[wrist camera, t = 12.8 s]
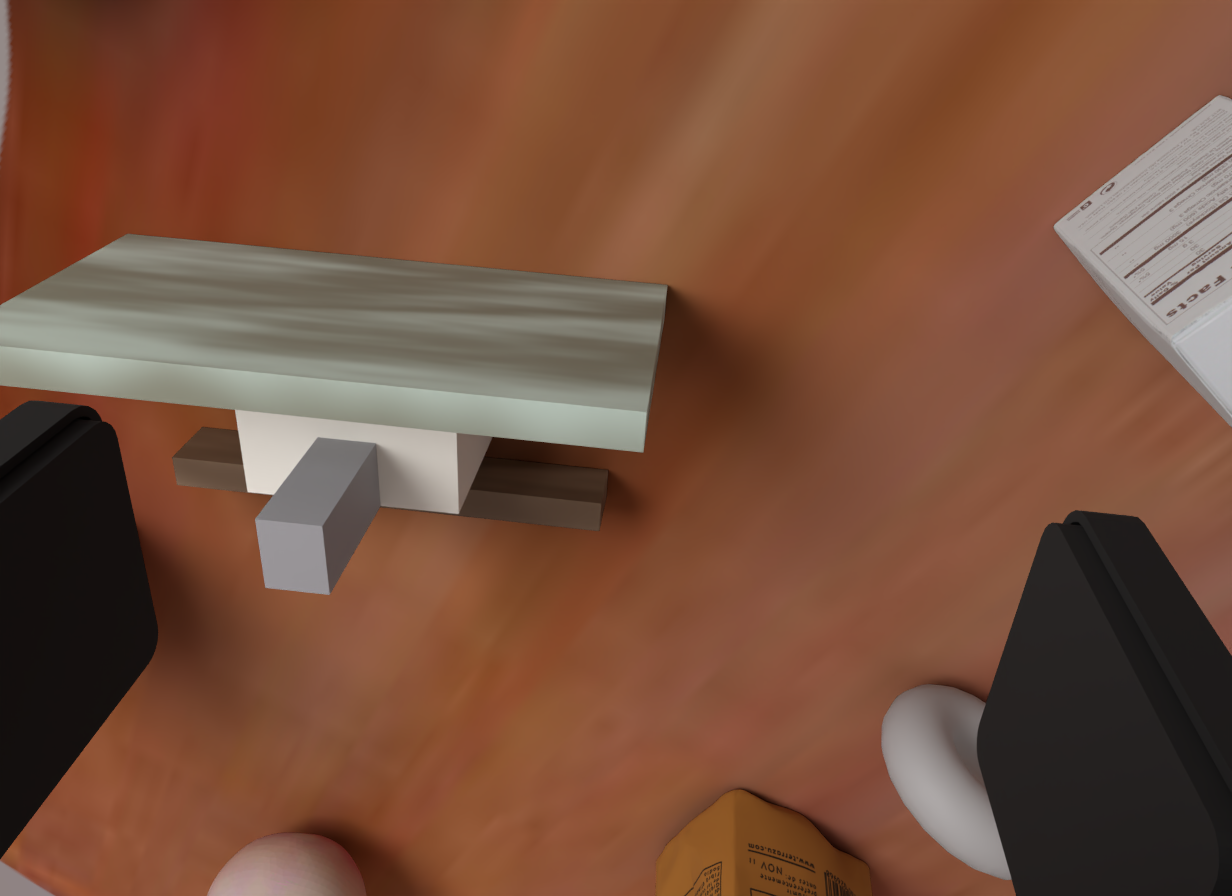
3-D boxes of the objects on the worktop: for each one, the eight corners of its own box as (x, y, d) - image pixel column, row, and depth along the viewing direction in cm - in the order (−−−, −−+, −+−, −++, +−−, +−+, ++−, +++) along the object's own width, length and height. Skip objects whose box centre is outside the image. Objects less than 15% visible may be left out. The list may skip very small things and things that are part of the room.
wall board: (127, 233, 44) (-62, 339, 33) (667, 285, 42) (646, 412, 32) (167, 449, 49) (15, 598, 39) (647, 501, 48) (624, 669, 37)
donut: (855, 681, 52) (880, 839, 43) (896, 639, 50) (930, 794, 42) (1006, 762, 54) (1060, 929, 45) (1051, 724, 52) (1115, 890, 43)
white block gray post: (296, 297, 44) (149, 434, 33) (493, 315, 44) (411, 461, 33) (309, 415, 47) (177, 578, 36) (494, 433, 47) (418, 604, 36)
